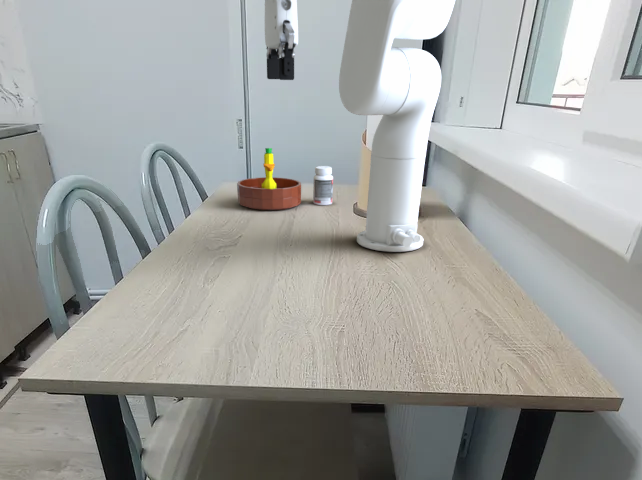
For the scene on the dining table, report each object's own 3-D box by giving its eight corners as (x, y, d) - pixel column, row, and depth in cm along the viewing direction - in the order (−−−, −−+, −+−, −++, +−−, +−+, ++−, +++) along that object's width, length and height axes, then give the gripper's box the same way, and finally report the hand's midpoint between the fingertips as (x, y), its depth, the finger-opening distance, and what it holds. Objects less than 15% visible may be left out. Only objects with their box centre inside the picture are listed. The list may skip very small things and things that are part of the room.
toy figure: (278, 204, 125) (277, 150, 119) (263, 205, 125) (261, 150, 119) (275, 198, 131) (275, 146, 125) (261, 199, 131) (260, 146, 125)
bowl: (308, 209, 124) (309, 187, 122) (245, 213, 120) (244, 190, 118) (290, 196, 137) (290, 176, 134) (232, 199, 133) (231, 178, 130)
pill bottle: (335, 204, 129) (337, 168, 125) (317, 206, 128) (318, 169, 123) (327, 200, 133) (328, 165, 129) (310, 202, 131) (310, 166, 127)
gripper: (310, -22, 102) (309, 80, 111) (284, -11, 116) (285, 79, 125) (273, -25, 100) (274, 80, 108) (251, -13, 114) (254, 78, 123)
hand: (280, 79), depth 117 cm, fingers open, 9 cm apart
